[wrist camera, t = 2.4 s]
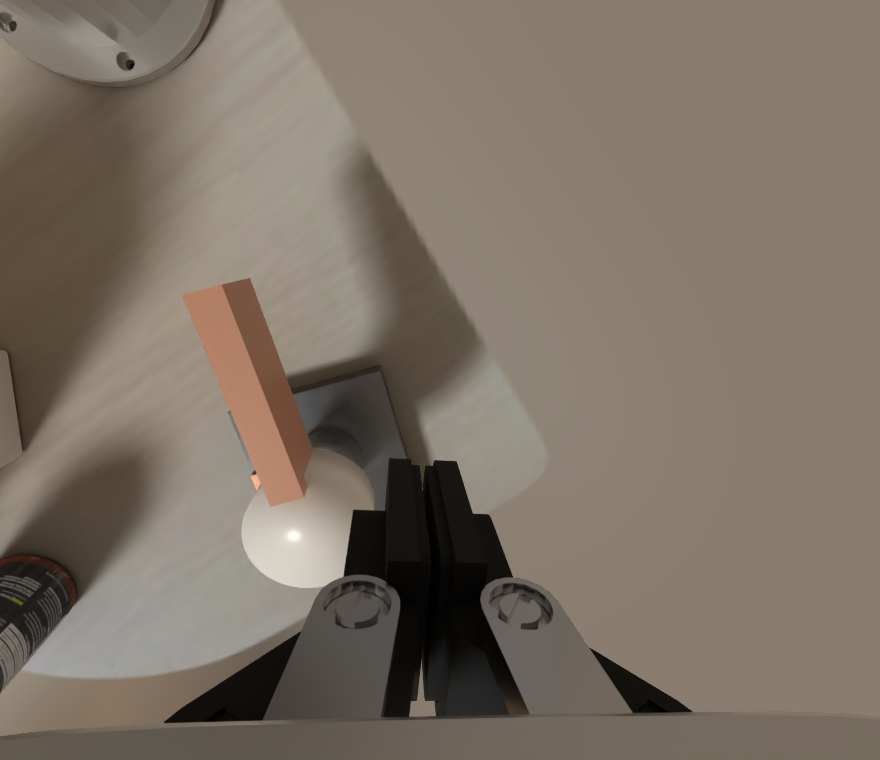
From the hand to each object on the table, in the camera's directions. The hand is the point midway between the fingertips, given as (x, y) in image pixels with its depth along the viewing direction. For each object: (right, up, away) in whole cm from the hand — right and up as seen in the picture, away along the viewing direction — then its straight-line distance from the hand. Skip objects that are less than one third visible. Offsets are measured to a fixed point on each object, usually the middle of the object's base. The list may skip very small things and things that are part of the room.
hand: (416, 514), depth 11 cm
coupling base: (-7, -2, +21) cm, 22 cm away
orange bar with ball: (-7, +1, +13) cm, 15 cm away
